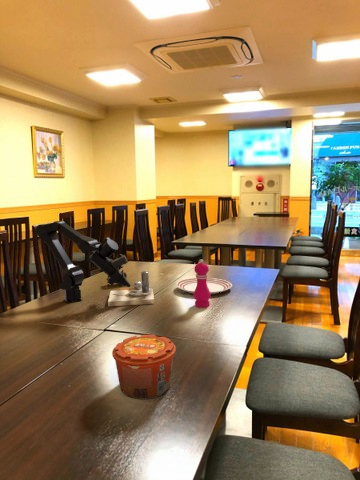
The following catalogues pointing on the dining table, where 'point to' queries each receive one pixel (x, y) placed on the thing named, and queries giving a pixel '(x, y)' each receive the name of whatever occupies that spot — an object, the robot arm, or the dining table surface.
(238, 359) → the dining table surface
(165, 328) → the dining table surface
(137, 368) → the food container
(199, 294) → the pepper mill
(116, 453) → the dining table surface
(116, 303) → the stand
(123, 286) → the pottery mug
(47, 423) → the dining table surface
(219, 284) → the dinner plate
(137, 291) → the shiny grey rounded pieces
